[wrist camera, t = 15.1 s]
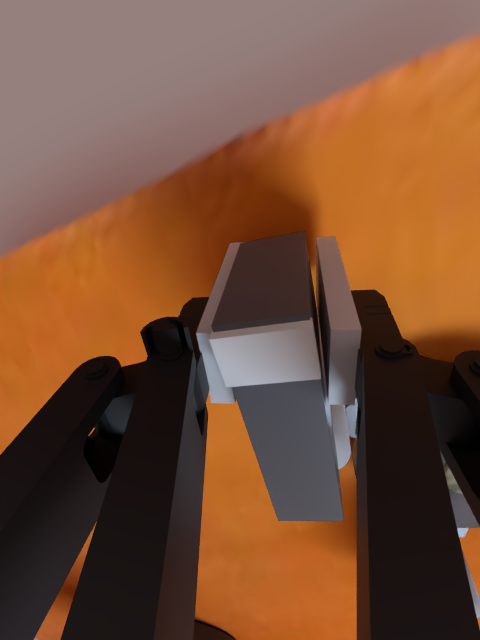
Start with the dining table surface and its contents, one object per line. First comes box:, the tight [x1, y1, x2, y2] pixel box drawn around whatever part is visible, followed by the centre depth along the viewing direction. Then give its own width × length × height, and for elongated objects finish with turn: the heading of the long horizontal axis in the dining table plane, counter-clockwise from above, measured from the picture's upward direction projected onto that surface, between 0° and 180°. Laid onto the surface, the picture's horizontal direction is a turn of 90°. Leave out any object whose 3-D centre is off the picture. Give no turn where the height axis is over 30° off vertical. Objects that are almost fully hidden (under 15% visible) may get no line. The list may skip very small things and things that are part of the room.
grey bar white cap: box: [209, 231, 351, 521], centre depth 14 cm, size 11×4×8 cm, turn 14°
